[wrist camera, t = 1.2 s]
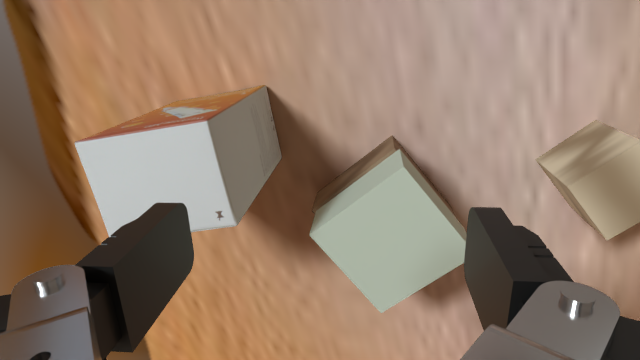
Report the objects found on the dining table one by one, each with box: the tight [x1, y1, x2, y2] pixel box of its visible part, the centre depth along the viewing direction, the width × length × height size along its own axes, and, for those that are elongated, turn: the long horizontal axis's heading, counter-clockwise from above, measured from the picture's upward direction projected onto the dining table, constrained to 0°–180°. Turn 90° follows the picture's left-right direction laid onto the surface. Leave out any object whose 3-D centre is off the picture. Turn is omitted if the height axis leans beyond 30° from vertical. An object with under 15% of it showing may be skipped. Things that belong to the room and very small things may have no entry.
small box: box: [75, 85, 282, 237], centre depth 30 cm, size 8×6×13 cm
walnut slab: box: [312, 136, 455, 216], centre depth 35 cm, size 8×8×4 cm
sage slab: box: [309, 149, 467, 313], centre depth 31 cm, size 8×8×4 cm
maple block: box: [536, 120, 640, 240], centre depth 31 cm, size 5×5×6 cm
